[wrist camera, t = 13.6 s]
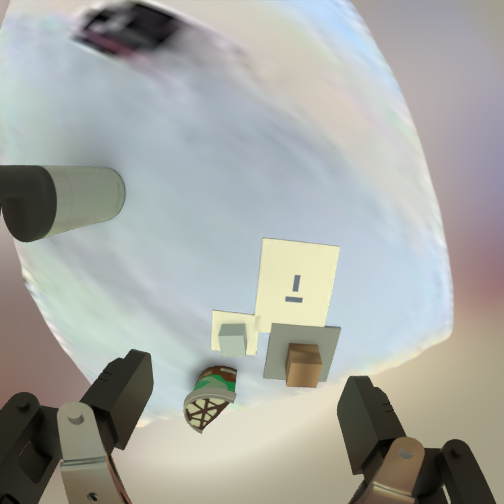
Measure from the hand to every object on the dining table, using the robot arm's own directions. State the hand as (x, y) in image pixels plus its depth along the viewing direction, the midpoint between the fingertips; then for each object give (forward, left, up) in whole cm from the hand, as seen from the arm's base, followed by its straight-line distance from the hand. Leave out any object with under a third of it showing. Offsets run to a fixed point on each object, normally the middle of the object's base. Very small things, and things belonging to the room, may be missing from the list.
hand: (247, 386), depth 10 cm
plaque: (-3, -17, -33) cm, 37 cm away
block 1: (-3, -17, -33) cm, 37 cm away
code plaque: (+6, -8, -33) cm, 35 cm away
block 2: (+9, -20, -32) cm, 39 cm away
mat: (+9, -20, -33) cm, 40 cm away
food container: (-7, -28, -33) cm, 44 cm away
